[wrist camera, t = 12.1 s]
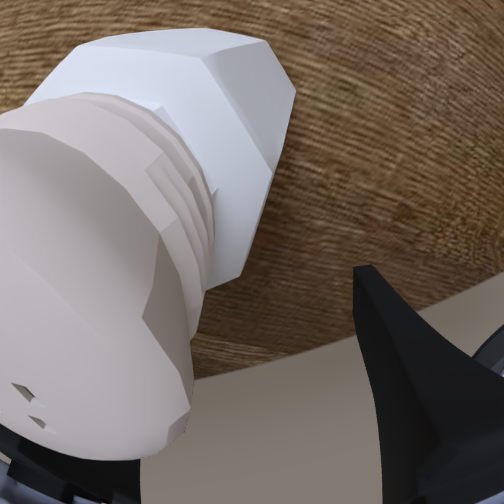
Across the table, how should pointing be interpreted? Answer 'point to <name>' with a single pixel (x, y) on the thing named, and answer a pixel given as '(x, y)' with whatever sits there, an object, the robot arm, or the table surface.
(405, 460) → the robot arm
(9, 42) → the table surface
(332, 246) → the table surface
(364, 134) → the table surface
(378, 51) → the table surface
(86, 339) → the pepper shaker
